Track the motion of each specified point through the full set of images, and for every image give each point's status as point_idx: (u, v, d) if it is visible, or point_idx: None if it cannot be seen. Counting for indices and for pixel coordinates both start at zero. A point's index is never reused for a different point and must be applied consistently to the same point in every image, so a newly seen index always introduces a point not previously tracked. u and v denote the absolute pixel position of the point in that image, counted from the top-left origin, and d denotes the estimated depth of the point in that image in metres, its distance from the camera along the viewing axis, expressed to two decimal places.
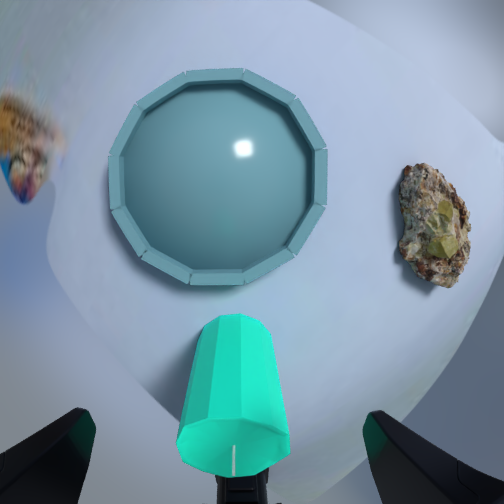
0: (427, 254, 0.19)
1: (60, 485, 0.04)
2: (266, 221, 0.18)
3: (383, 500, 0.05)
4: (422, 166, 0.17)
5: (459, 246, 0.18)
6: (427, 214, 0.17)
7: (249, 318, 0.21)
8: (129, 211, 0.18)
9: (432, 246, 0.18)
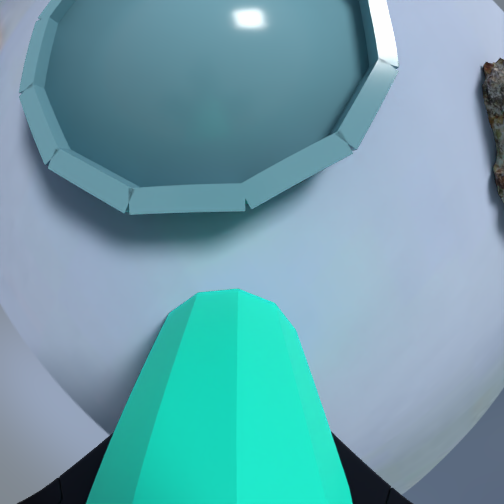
0: None
1: None
2: (290, 88, 0.08)
3: None
4: None
5: None
6: None
7: (255, 298, 0.11)
8: (47, 95, 0.07)
9: None
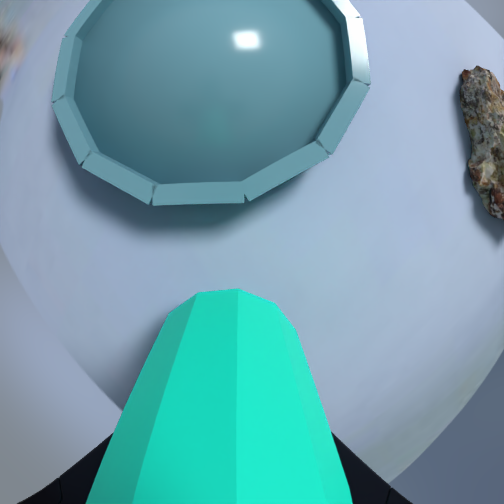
0: (503, 180, 0.11)
1: None
2: (280, 105, 0.10)
3: None
4: (483, 69, 0.09)
5: None
6: (501, 121, 0.09)
7: (255, 298, 0.11)
8: (77, 105, 0.10)
9: None
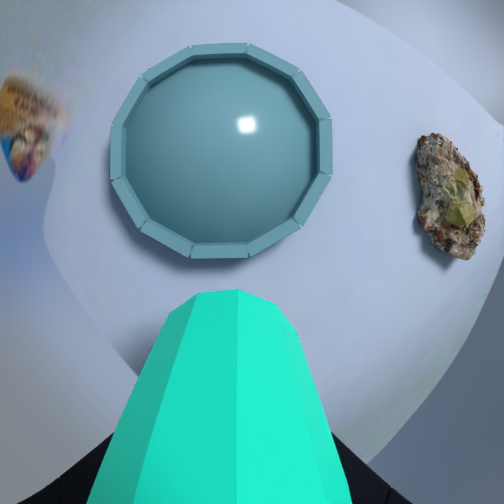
0: (445, 223, 0.18)
1: None
2: (271, 191, 0.18)
3: None
4: (437, 135, 0.17)
5: (476, 216, 0.17)
6: (445, 180, 0.17)
7: (255, 298, 0.11)
8: (129, 182, 0.17)
9: (450, 214, 0.17)
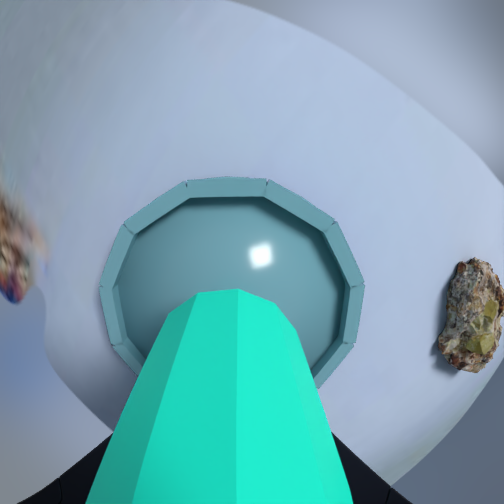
0: (463, 348, 0.16)
1: None
2: None
3: None
4: (477, 266, 0.15)
5: (494, 339, 0.15)
6: (474, 317, 0.15)
7: (255, 298, 0.11)
8: (133, 343, 0.15)
9: (470, 344, 0.15)
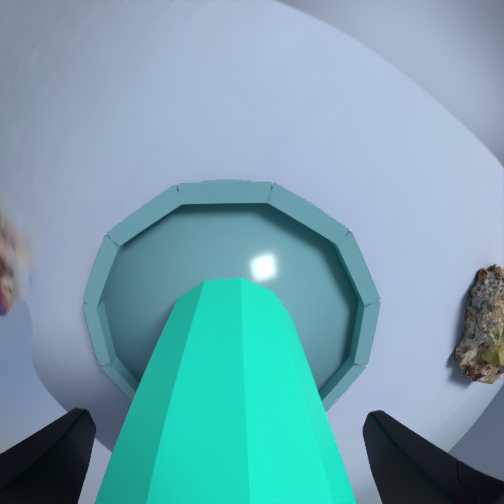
0: (480, 359, 0.14)
1: (60, 485, 0.04)
2: None
3: (383, 500, 0.05)
4: (499, 274, 0.13)
5: None
6: (494, 327, 0.13)
7: (256, 286, 0.12)
8: (122, 363, 0.13)
9: (488, 355, 0.14)
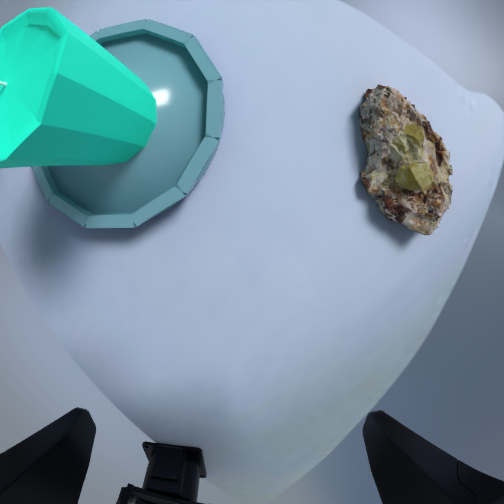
0: (396, 187, 0.16)
1: (60, 485, 0.04)
2: (159, 160, 0.16)
3: (383, 500, 0.05)
4: (384, 87, 0.15)
5: (436, 181, 0.15)
6: (391, 134, 0.15)
7: None
8: None
9: (400, 175, 0.16)
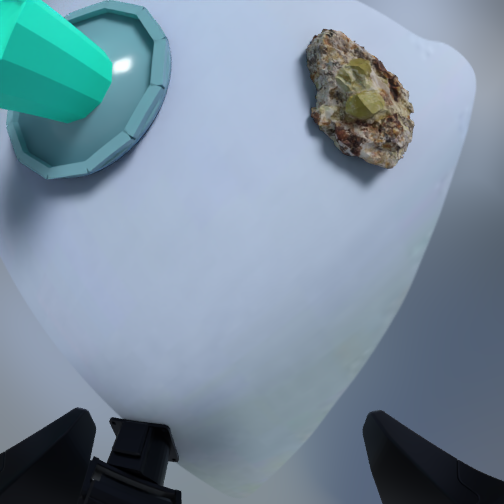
0: (348, 118, 0.16)
1: (60, 485, 0.04)
2: (112, 112, 0.15)
3: (383, 500, 0.05)
4: (328, 30, 0.14)
5: (391, 111, 0.15)
6: (335, 67, 0.14)
7: None
8: (19, 126, 0.15)
9: (349, 104, 0.15)
